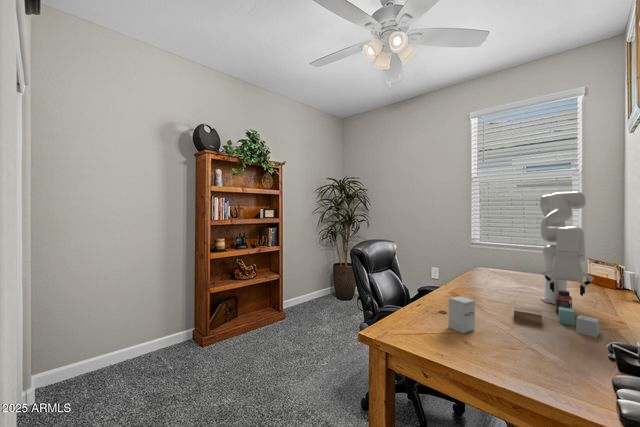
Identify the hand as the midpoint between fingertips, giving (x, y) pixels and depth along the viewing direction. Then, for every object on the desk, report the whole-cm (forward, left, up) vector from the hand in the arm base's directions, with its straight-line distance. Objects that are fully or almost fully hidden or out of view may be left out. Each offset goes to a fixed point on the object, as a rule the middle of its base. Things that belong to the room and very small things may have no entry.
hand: (566, 293), depth 125 cm
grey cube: (+8, +6, -14) cm, 17 cm away
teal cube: (-1, 0, -14) cm, 13 cm away
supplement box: (+36, -36, -14) cm, 53 cm away
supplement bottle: (-14, 0, -14) cm, 19 cm away
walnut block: (+6, -14, -14) cm, 21 cm away
